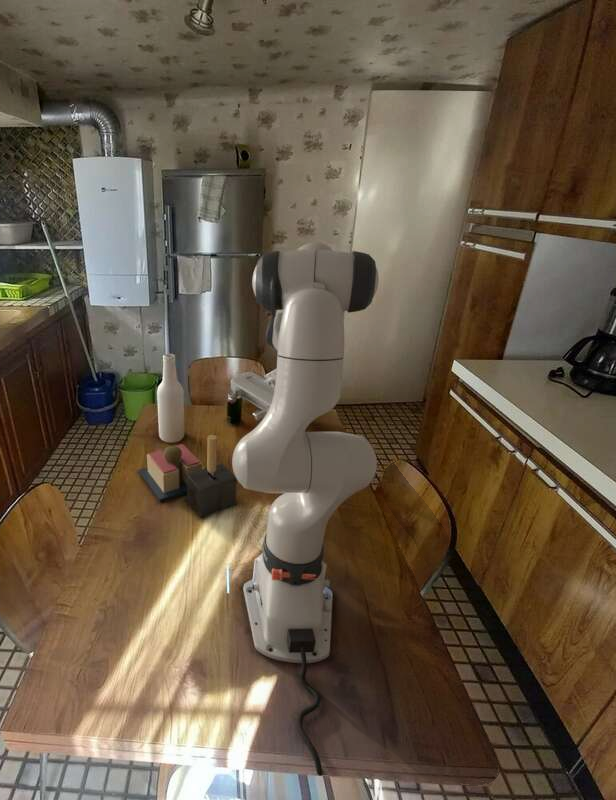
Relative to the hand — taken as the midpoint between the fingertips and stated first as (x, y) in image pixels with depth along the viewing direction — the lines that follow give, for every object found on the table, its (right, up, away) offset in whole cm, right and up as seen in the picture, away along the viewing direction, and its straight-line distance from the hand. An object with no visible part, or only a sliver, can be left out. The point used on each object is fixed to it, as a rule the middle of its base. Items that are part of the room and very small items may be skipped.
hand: (241, 408), depth 113 cm
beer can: (0, -6, +49) cm, 49 cm away
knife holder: (-8, -26, +7) cm, 28 cm away
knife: (-8, -26, +7) cm, 28 cm away
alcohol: (-22, -11, +39) cm, 46 cm away
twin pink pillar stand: (-19, -21, +17) cm, 33 cm away
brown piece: (-19, -21, +16) cm, 33 cm away
